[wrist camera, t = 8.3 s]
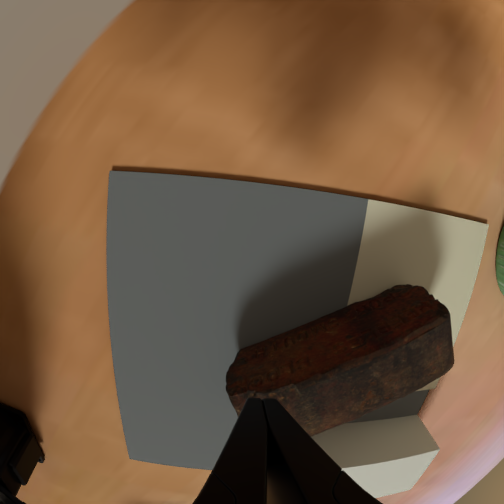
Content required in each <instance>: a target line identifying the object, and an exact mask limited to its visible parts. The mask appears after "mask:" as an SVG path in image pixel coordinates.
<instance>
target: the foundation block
mask: <svg viewBox="0 0 504 504" xmlns="http://www.w3.org/2000/svg"><path fill="white" fill-rule="evenodd" d="M311 437H312V439H313V440H314V441H315V442H316V443H317V444H318V445H319V446H320V447H321V448H322V449H323V450H324V451H325V452H326V453H327V454H328V455H329V456H330V457H331V458H332V459H333V460H334V461H335V462H336V463H337V464H338V465H339V466H340V467H341V468H342V470H344V471H345V472H346V473H347V474H348V475H349V476H350V477H351V478H352V479H353V480H354V481H355V482H356V483H357V484H358V485H359V486H361V487H362V488H363V489H364V490H365V491H367V492H368V493H369V494H370V495H372V496H373V497H374V498H378V497H383V496H387V495H391V494H395V493H399V492H403V491H407V490H411V488H412V487H413V486H414V485H415V483H416V482H417V481H418V479H419V478H420V477H421V475H422V474H423V473H424V471H425V470H426V469H427V467H428V466H429V464H430V463H431V462H432V460H433V459H434V457H435V456H436V454H437V453H438V452H439V450H440V448H439V447H438V445H437V444H436V442H435V441H434V439H433V437H432V436H431V434H430V433H429V431H428V430H427V428H426V427H425V425H424V424H423V422H422V421H421V419H420V418H419V417H418V415H411V416H405V417H398V418H391V419H383V420H375V421H366V422H355V423H344V424H342V425H339V426H337V427H334V428H332V429H329V430H326V431H324V432H322V433H319V434H317V435H314V436H311ZM342 470H341V471H342Z"/></svg>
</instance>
